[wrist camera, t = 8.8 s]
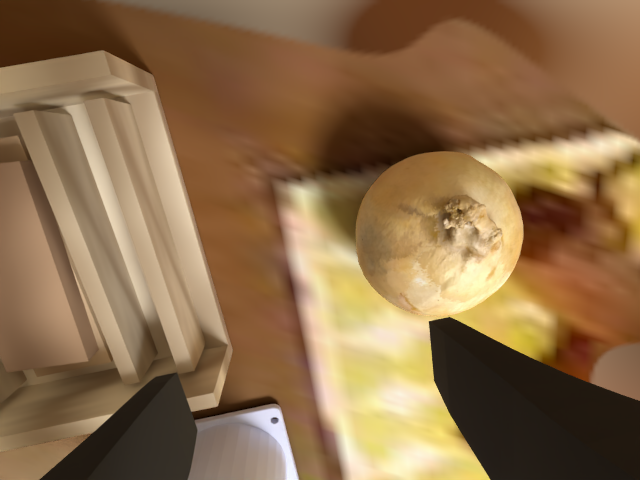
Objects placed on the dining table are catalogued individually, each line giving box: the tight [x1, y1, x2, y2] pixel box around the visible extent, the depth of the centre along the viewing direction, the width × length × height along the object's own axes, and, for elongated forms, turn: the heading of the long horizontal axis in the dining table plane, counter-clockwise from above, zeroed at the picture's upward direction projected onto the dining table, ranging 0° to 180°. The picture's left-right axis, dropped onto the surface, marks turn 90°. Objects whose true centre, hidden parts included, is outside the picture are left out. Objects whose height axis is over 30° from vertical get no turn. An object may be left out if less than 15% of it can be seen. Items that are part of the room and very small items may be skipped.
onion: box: [356, 151, 523, 316], centre depth 16 cm, size 8×8×7 cm
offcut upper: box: [0, 160, 99, 373], centre depth 16 cm, size 4×10×1 cm, turn 6°
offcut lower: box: [0, 135, 113, 377], centre depth 17 cm, size 4×12×1 cm, turn 10°
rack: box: [0, 50, 233, 452], centre depth 16 cm, size 16×16×5 cm
